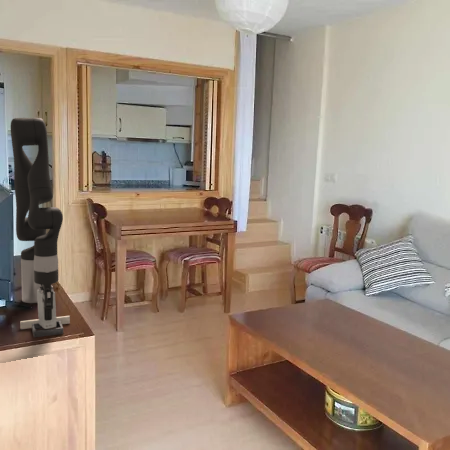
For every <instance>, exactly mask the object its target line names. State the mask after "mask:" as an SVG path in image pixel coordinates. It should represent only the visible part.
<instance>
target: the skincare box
mask: <svg viewBox="0 0 450 450" xmlns="http://www.w3.org/2000/svg"><path fill="white" fill-rule="evenodd" d="M42 297H43V299H44V300H45V297H44V293H42V294H41V291H40V289H39V290H37V302H38V303H37V314H38V315H37V316H38V320H39V324H40V325H41V326H42V327H43V328H44V329H43V330H46V329H54V328H57V327H56V317H57V310H56V309H57V306H56V305H57V304H56V292H55V291H54V292H53V309H52V320H47V321H46V320H45V317H44V303H43V302H42ZM49 305H50V303H47V306H49Z"/></svg>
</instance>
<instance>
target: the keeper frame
mask: <svg viewBox="0 0 450 450" xmlns="http://www.w3.org/2000/svg"><path fill="white" fill-rule="evenodd" d="M31 331H32V336H33V338H41V337H48V336H56V335H62V334H64V327H63V324H61V321H56V327H53V328H48V329H44V328H43V327H42V326H41V325H40V324H39V323H35V324H32V328H31Z"/></svg>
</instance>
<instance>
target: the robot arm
mask: <svg viewBox="0 0 450 450" xmlns="http://www.w3.org/2000/svg"><path fill="white" fill-rule="evenodd" d="M10 136H11V137H10V138H11V146H12V153H13V170H14V171H13V172H14V173H13V177H14V178H13V179H14V180H13V181H14V182H13V183H14V194H15V195H14V196H15V205H16V206H15V207H16V211H15V214H16V215H15V232H16V238H17V239H18V241H21V242H34V243H33V246H29V247H27V248H24V249H23V250H22V251H20V266H21V267H20V268H21V269H20V272H21V275H20V276H21V278H20V279H21V302H23V303H27V304H38V302H37V290H39V289H40V291H41V294H42V293H44V297H45V300H44V299H43V297H42V302H43V303H44V317H45V320H46V321H47V320H52V309H53V292H55V291H54V287H53V284H56V283H57V282H58V281H59V258H58V240H59V236H60V231H61V229H62V225H63V219H64V217H63V216H64V215H63V212H62V211H61V209H60V208H58V207H55V206H54V207H49V206H48V207H47V206H46V207H40V205H43V204H46V203H49V202H51V201H52V200H53V198H54V196H53V195H54V194H53V188H52V183H51V177H50V165H49V164H50V163H49V161H50V160H49V159H50V157H49V144H48V143H49V142H48V141H49V140H48V131H47V126H46V122H45V121H44V119H43V118H41V117H14V118H12V119H11V121H10ZM25 146H26V147H27V146H30V147H31V146H38V147H37V149H38V151H37V155H36V157H35V160H34V161H33V162H32V161H31V160H30V158H29V157H28V155H27V154H26V152H25V150H24V148H23V147H25ZM26 216H27V217H26ZM47 230H48V231H47ZM47 303H50V305H49V306H47Z"/></svg>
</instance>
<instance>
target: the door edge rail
mask: <svg viewBox="0 0 450 450" xmlns="http://www.w3.org/2000/svg"><path fill="white" fill-rule="evenodd" d="M70 316H71V315H65V316H56V321H61V324H62V325H66V324H71V317H70ZM19 322H20V325H19V327H20V330H26V329H32V324H35V323H39V320H38V319H37V318H35V319H28V320H20V321H19Z"/></svg>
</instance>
